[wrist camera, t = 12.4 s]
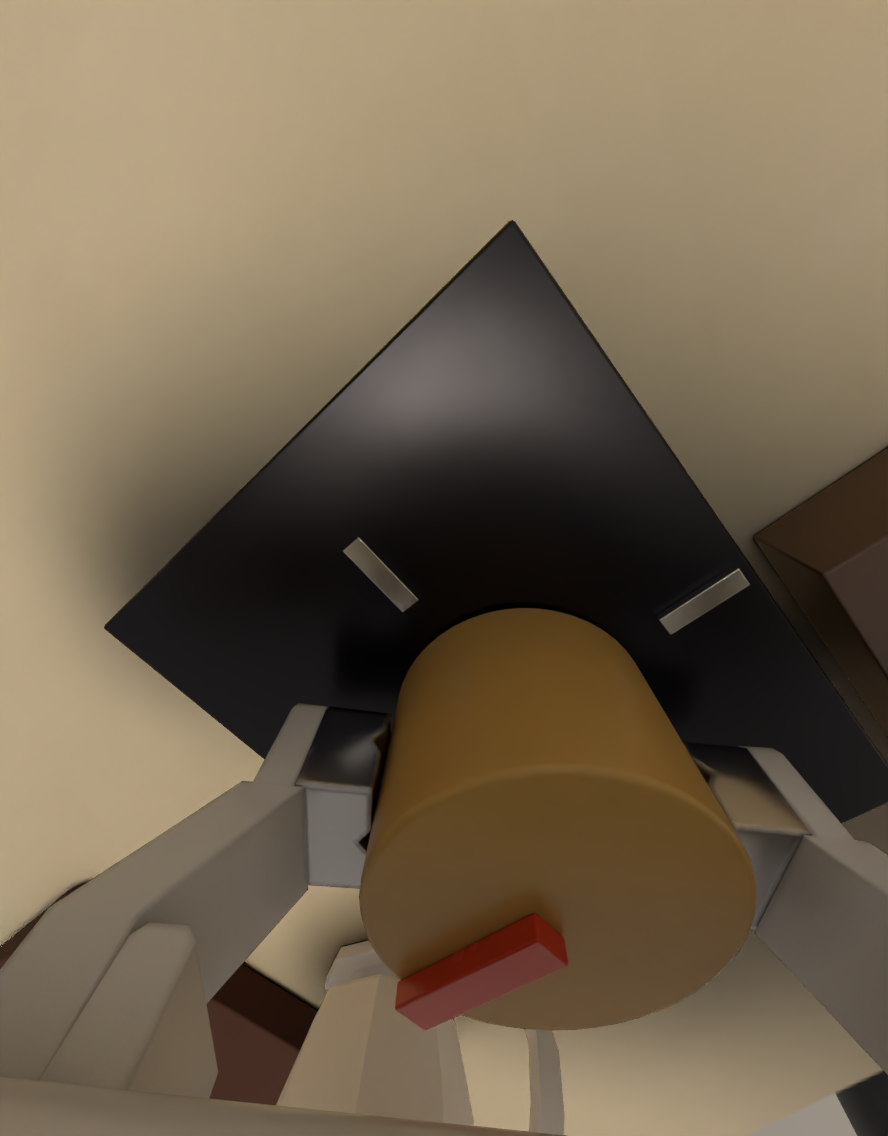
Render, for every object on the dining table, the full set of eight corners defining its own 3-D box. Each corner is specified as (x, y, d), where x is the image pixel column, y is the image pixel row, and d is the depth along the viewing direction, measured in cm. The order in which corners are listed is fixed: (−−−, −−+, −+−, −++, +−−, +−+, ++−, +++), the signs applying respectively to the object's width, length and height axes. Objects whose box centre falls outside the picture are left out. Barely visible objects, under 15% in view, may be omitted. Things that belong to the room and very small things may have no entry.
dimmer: (803, 695, 12) (915, 801, 9) (511, 854, 14) (524, 979, 11) (497, 267, 9) (513, 212, 6) (191, 564, 11) (95, 632, 8)
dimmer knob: (544, 553, 7) (616, 712, 4) (694, 729, 9) (855, 977, 5) (347, 702, 9) (266, 926, 5) (500, 840, 10) (521, 1102, 6)
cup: (249, 972, 17) (75, 1450, 9) (446, 829, 14) (423, 1358, 6) (398, 1056, 18) (352, 1522, 11) (603, 944, 16) (731, 1474, 8)
